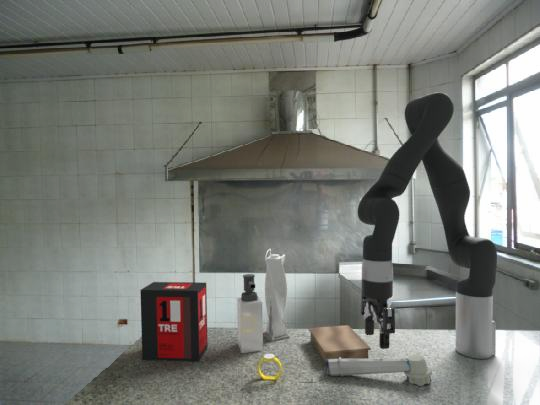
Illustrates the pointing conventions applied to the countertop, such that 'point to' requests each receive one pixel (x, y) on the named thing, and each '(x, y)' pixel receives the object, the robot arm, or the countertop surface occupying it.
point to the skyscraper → (275, 297)
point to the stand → (338, 343)
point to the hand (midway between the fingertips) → (376, 341)
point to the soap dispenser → (249, 318)
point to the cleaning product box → (174, 321)
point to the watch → (269, 358)
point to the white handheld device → (382, 368)
